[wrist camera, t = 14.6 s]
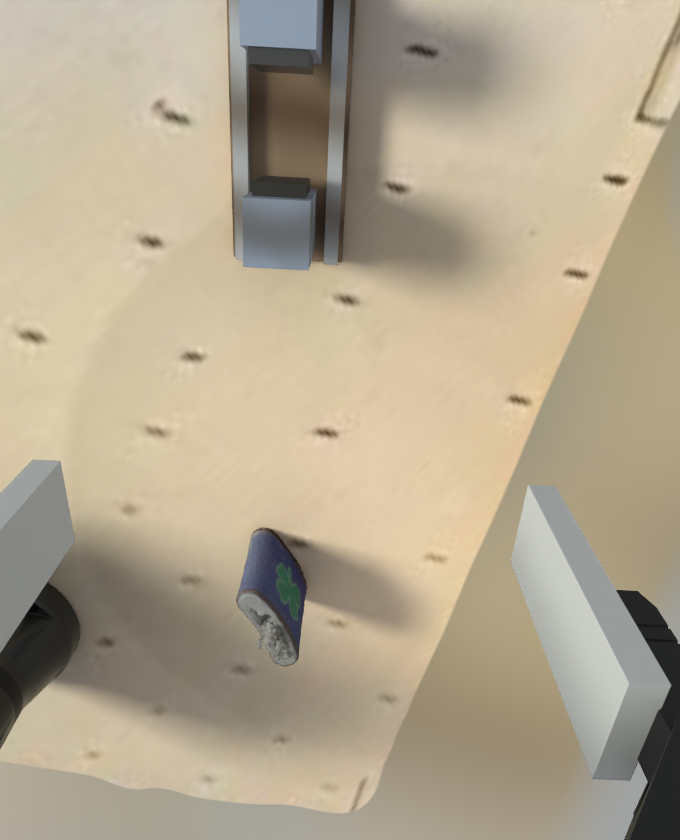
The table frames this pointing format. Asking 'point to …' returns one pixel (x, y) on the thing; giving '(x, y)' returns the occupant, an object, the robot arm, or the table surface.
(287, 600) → the flask
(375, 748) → the table surface
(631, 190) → the table surface
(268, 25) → the blue-grey rectangular block
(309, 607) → the table surface
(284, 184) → the rail board
